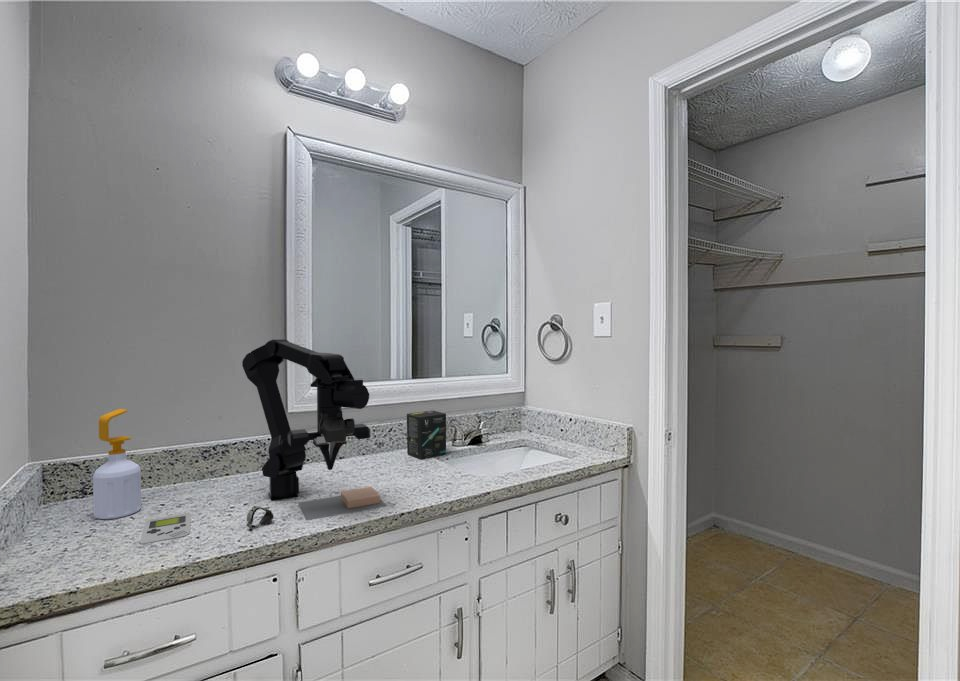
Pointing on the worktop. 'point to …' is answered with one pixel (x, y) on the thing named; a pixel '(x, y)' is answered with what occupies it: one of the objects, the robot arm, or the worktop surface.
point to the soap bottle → (116, 477)
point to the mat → (330, 507)
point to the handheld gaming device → (166, 528)
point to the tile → (360, 497)
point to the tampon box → (426, 434)
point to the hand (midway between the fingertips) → (330, 469)
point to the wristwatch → (265, 519)
